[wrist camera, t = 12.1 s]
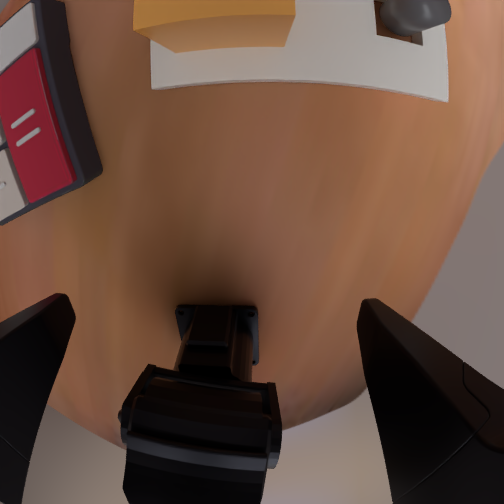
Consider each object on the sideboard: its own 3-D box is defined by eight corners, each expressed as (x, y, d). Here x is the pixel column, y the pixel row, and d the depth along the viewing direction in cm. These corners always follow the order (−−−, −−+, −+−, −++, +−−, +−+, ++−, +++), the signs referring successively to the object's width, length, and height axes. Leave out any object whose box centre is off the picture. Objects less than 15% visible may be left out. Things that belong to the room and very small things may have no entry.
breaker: (418, 40, 12) (453, 30, 8) (380, 31, 12) (410, 15, 9) (415, 6, 11) (447, -11, 7) (377, -4, 11) (404, -26, 7)
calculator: (-7, 232, 17) (-50, 76, 10) (22, 210, 21) (-18, 70, 13) (80, 189, 15) (32, -9, 8) (110, 169, 19) (65, 0, 12)
